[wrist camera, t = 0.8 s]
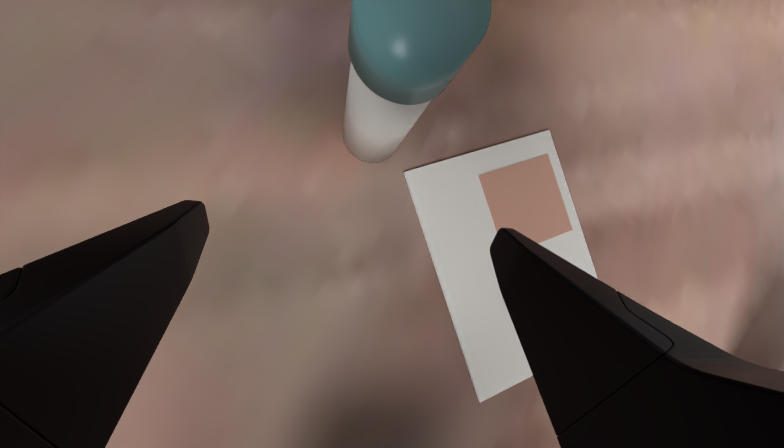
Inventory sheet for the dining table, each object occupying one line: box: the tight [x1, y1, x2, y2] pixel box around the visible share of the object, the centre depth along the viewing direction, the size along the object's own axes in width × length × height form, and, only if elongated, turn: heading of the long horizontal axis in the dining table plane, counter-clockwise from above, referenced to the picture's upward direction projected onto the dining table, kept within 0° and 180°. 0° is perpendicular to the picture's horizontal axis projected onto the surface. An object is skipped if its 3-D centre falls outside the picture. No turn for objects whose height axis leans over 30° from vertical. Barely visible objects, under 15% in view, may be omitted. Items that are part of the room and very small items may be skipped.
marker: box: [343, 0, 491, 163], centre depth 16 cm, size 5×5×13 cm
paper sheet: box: [404, 130, 598, 403], centre depth 24 cm, size 19×14×1 cm
